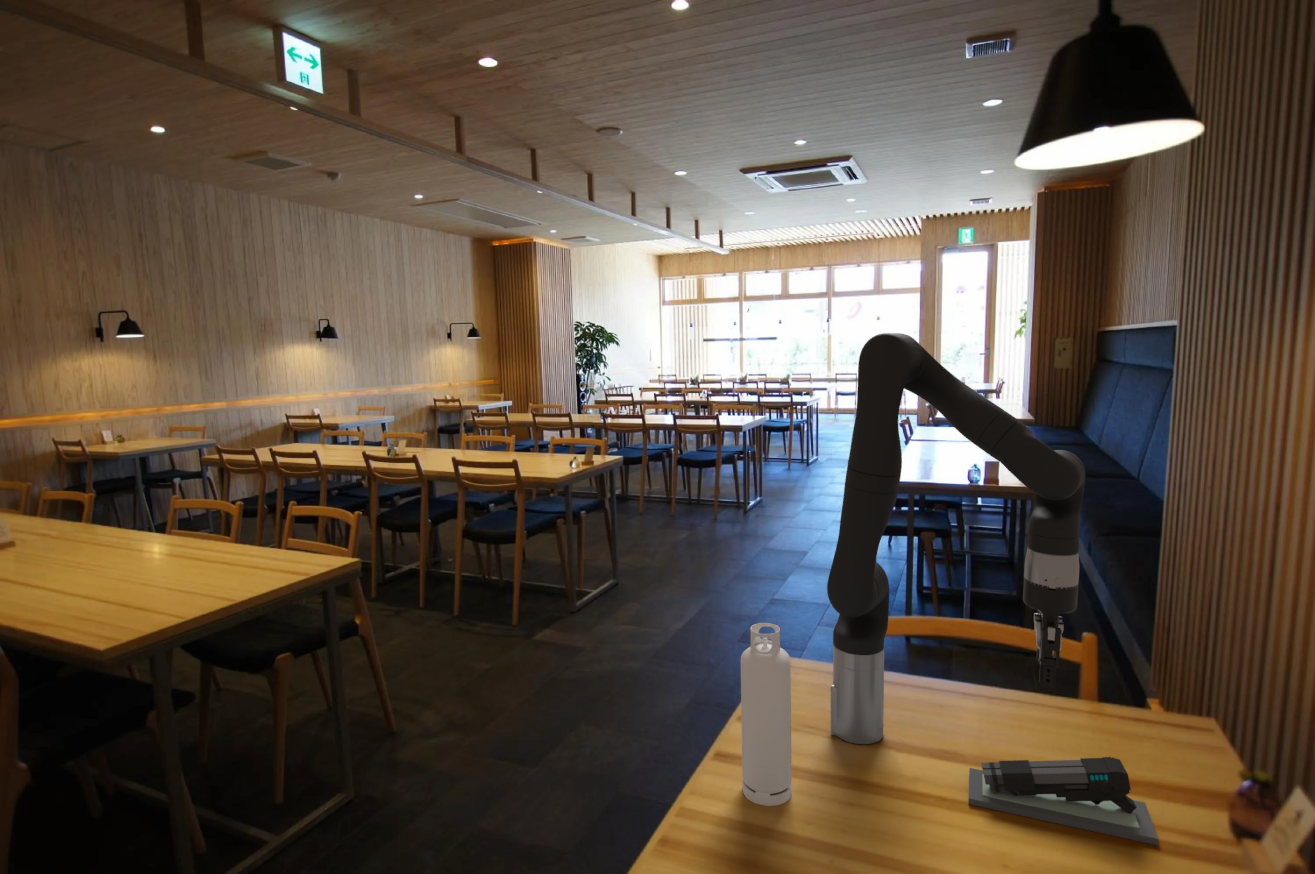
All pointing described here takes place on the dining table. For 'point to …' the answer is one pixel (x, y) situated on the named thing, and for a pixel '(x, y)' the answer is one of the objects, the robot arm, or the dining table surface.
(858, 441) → the robot arm
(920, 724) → the dining table surface
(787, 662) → the bottle
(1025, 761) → the gun
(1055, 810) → the charging mat
